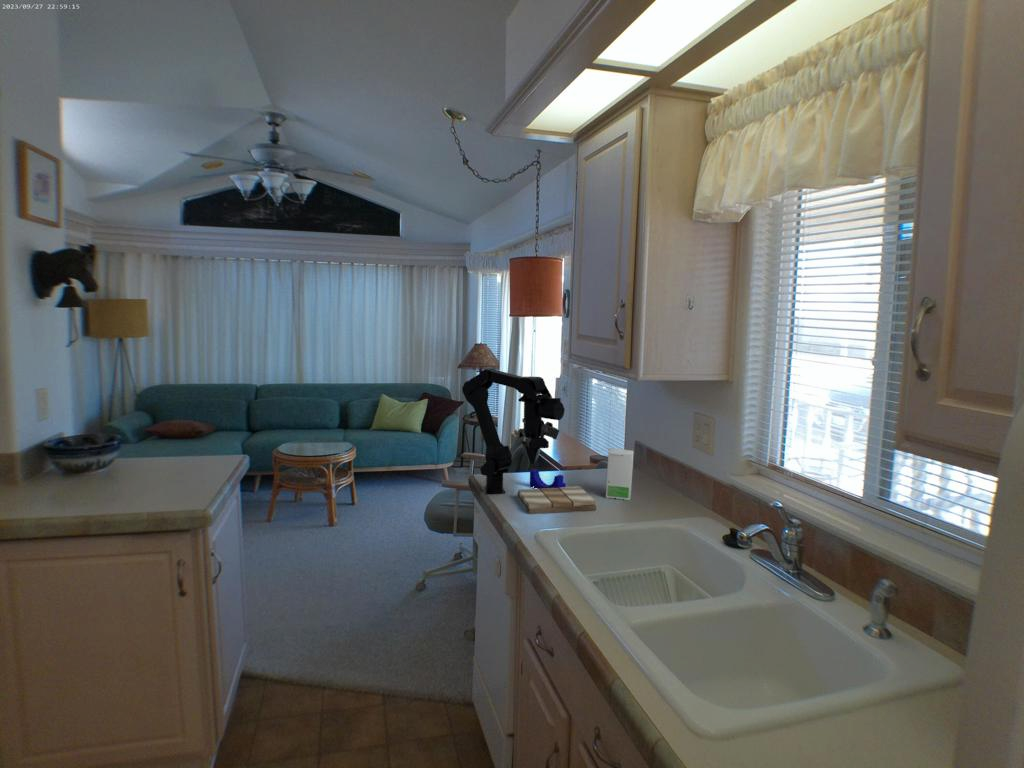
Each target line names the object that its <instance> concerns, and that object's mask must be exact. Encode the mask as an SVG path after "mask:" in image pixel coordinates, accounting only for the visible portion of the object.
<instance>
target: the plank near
mask: <svg viewBox="0 0 1024 768" xmlns="http://www.w3.org/2000/svg"><path fill="white" fill-rule="evenodd" d="M517 493H519V495H520V496H521V498H522V499H523V500H524V502H525V503H526V505H527V506H528V507H529V508H545V507H552V503H551V502H550V501H549V500H548V499H547V497H546V496H545V495H544V494H543V493H542V491H541V490H540V489H539V488H537V489H535V488H524V489H523V488H522V489H521V488H519V489H518V490H517Z"/></svg>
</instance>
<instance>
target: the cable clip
mask: <svg viewBox="0 0 1024 768" xmlns="http://www.w3.org/2000/svg"><path fill="white" fill-rule="evenodd" d="M533 486H534V488H533V489H535V488H539V489H540V488H560V487H567V484H566V482H564V475H562V474H558V475H555V476H554V479H553V481H552V483H550V484H547V483H545V482H544V481H543V479H542V478H541V475H540V470H539V469H536V468H535V469H532V470H530V471H529V488H531V487H533Z"/></svg>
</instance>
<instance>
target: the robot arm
mask: <svg viewBox="0 0 1024 768" xmlns="http://www.w3.org/2000/svg"><path fill="white" fill-rule="evenodd" d="M493 384H498V385H501V386H505V387H509V388H512V389H515V390H516V391H517V392H518V393H520V394H522V396H521V397H520V398H518V401H517V402H522V403H523V418H522V420H521V422H522V423H523V428H519V429H518V430H517V431H516V432H517V433H516V435H517V437H516V438H518V439H521V438H523V440H521V442H520V443H521V445H522V447H523V450H524V452H525V455H526V458H527V460H528V462H529V465H531V466H534V464H535V462H536V458H537V455H538V451H539V450H540V449H549V447H550V446H549V445H550V443H549V441H548V439H546V438H545V436H546V437H549V438H550V439H553V440H557V439H558V437H559V434H560V430H559V429H558V428H556V427H555V426H554V425H553V423H552V422H549V421H546V422H545V421H544V420H543V419H546V420H548V419H549V420H554V421H561V420H562V419H563V417H564V415H565V411H566V410H565V407H564V403H563V402H561V401H562V400H561V397H553V395H552V394H551V392H550V391H549V389H548V387H547V385H546V382H545V380H544V378H543V377H541V376H522V375H521V376H520V375H517V374H513V373H509V372H505V371H501V370H497V369H495V368H487V369H483V370H482V371H481V372H480V373H478V374H477V375H475V376H473V377H472V378H470V379H469V380H467V381H465V382H464V383H463V386H462V389H461V391H462V394H463V396H464V398H465V399H466V402H467V403H469V404H470V405H471V407H472V408H473V409H474V410H473V411H474V413H475V416H476V420H477V423H478V424H479V425H478V426H479V429H480V432H481V434H482V435H481V436H482V437H483V440H484V442H485V443H484V444H485V446H486V448H485V449H486V450H485V454H484V457H485V462H484V464H483V465H482V466H481V467H480V468H479V470H480V475H482V476H484V477H485V487H484V486H483V490H484V492H485V494H486V495H492V494H497V495H498V494H506V490H505V488H504V474H505V473H508V472H509V469H510V468H511V466H512V463H513V459H512V458H513V455H512V454H511V451H510V446H509V445H504V444H503V443H502V442H501V440H500V437H499V434H498V431H497V427H496V425H495V422H494V419H493V416H492V413H491V411H490V406H489V404H488V401H489V389H490V388H491V387H492V386H493Z"/></svg>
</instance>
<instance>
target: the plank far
mask: <svg viewBox="0 0 1024 768" xmlns="http://www.w3.org/2000/svg"><path fill="white" fill-rule="evenodd" d="M559 489H560V490H561V492H562V493H563V494H564V495H565V496H566V497H567V498H568V499H569V500H570V501H571V502H572V505H573V506H580V505H596V500H595V499H594V498H593V497H592V496H591V495H590V494H589V493H588V492H586V491H585V490H584V489H583V488H582V487H581V486H580V485H579V486H578V485H577V486H576V485H575V486H566V487H560V488H559Z"/></svg>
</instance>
